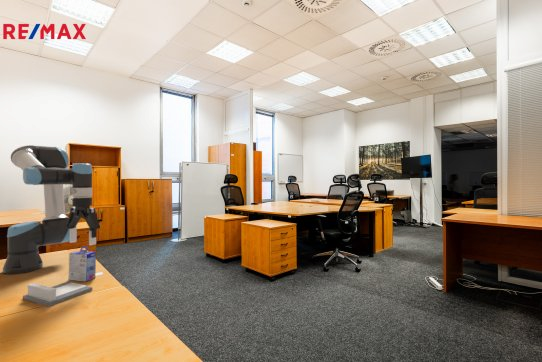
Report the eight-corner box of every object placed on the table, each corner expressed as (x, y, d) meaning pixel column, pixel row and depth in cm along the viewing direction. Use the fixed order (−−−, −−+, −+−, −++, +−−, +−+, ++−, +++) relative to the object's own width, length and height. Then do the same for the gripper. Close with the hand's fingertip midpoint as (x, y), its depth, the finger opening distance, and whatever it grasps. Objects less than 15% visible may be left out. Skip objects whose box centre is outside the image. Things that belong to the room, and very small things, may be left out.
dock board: (22, 298, 106) (22, 285, 106) (67, 284, 121) (67, 272, 121) (48, 306, 100) (48, 292, 100) (92, 290, 114) (92, 277, 114)
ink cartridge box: (96, 277, 129) (96, 246, 129) (86, 281, 124) (86, 249, 124) (78, 276, 131) (78, 245, 131) (68, 280, 126) (67, 248, 126)
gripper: (56, 197, 129) (56, 243, 129) (92, 198, 119) (92, 247, 119) (73, 196, 136) (73, 239, 135) (108, 197, 126) (109, 244, 126)
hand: (82, 243), depth 127 cm, fingers open, 13 cm apart
